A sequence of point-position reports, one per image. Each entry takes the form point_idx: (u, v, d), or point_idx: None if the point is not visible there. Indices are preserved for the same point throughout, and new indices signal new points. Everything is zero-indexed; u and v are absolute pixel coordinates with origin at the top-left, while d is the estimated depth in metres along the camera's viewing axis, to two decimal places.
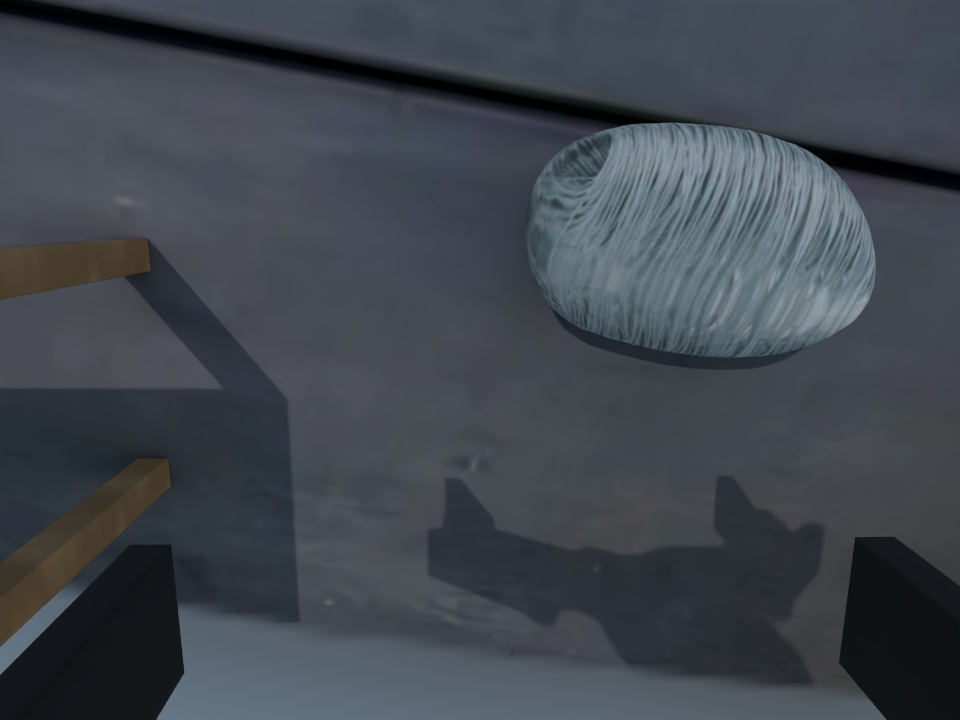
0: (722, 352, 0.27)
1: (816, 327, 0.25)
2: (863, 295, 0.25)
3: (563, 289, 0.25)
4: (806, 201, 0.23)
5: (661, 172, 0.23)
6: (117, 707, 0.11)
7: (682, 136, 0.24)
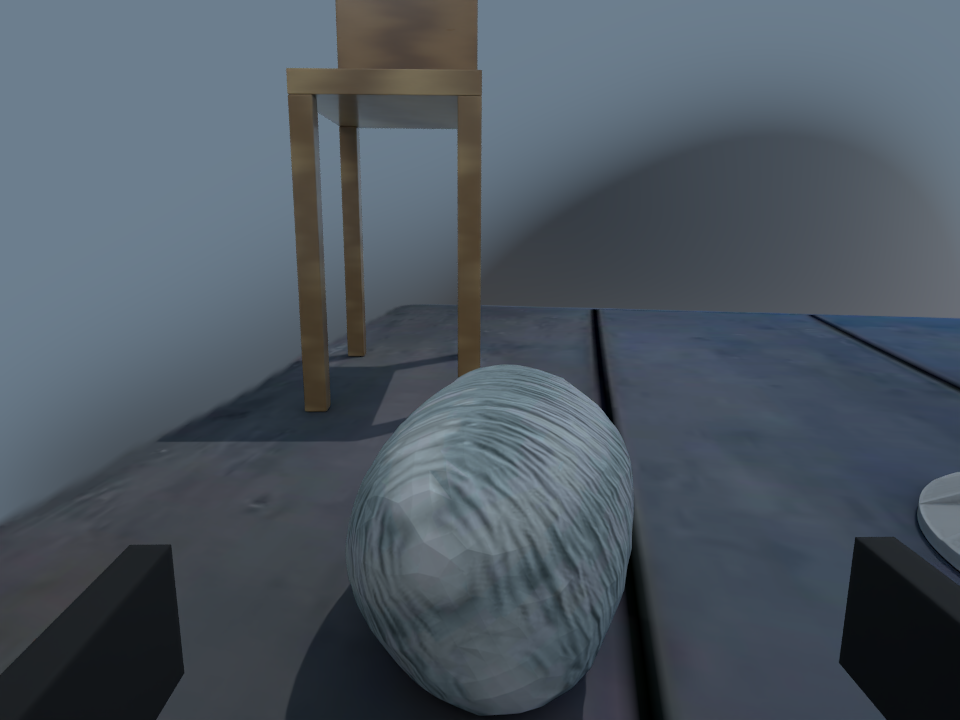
0: None
1: (397, 461, 0.18)
2: (439, 486, 0.17)
3: None
4: (558, 423, 0.20)
5: (565, 382, 0.25)
6: (117, 707, 0.11)
7: (604, 414, 0.24)
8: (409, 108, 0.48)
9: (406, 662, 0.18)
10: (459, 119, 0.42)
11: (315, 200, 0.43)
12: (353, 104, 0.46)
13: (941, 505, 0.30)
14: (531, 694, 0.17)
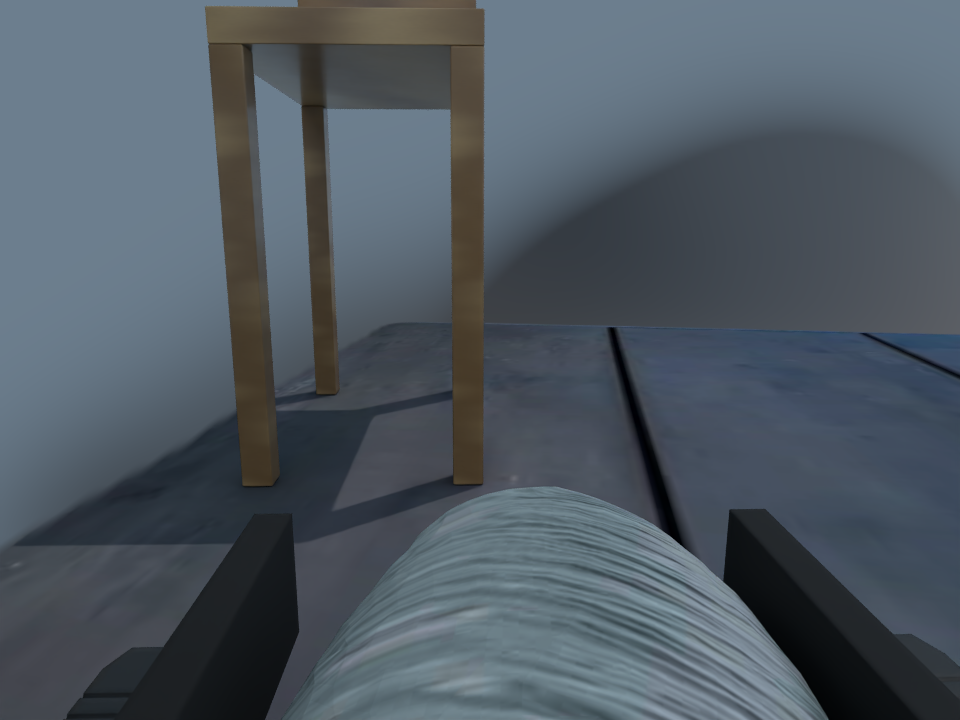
0: None
1: None
2: None
3: None
4: None
5: (668, 546, 0.12)
6: (264, 653, 0.12)
7: (757, 620, 0.11)
8: (385, 72, 0.35)
9: None
10: (453, 79, 0.30)
11: (250, 195, 0.31)
12: (307, 64, 0.34)
13: None
14: None
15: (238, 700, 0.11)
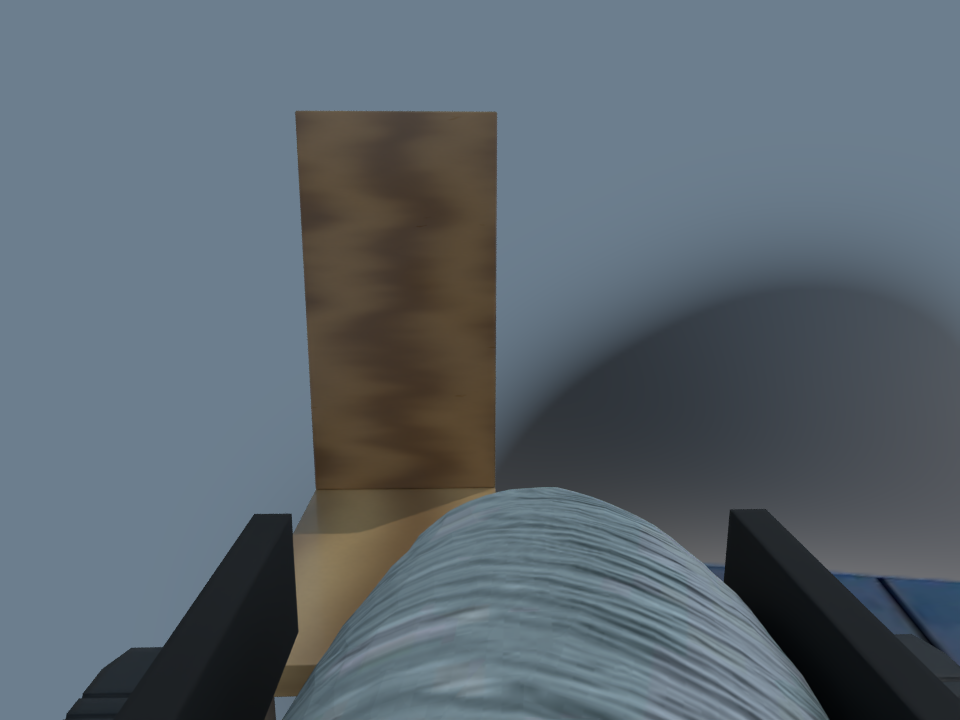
0: None
1: None
2: None
3: None
4: None
5: (668, 547, 0.12)
6: (263, 653, 0.12)
7: (758, 621, 0.11)
8: None
9: None
10: None
11: None
12: None
13: None
14: None
15: (238, 699, 0.11)
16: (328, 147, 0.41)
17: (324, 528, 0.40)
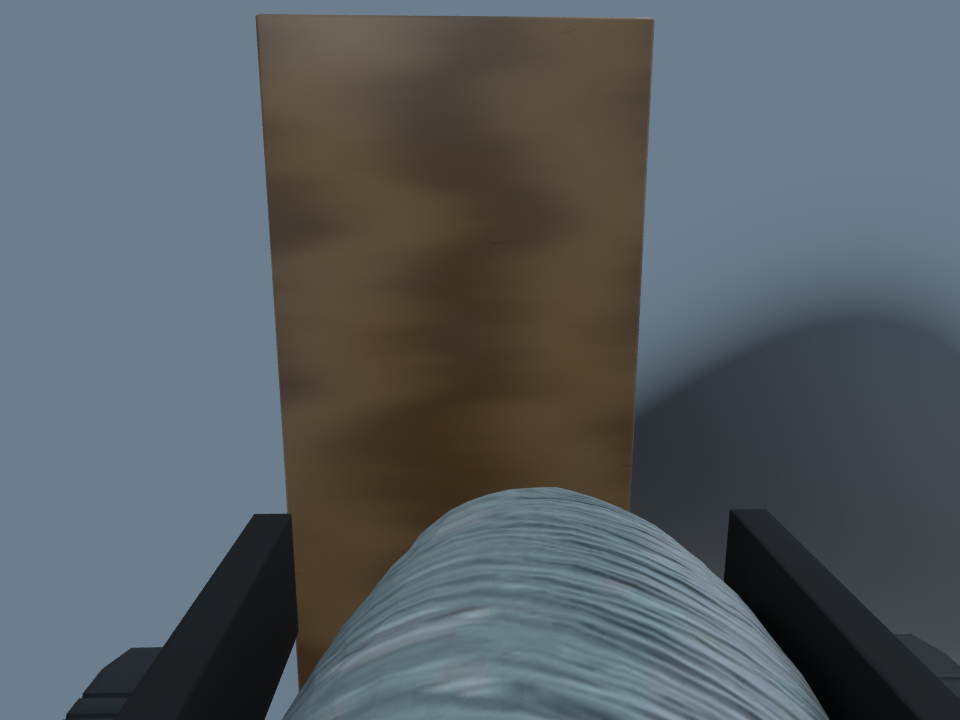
0: None
1: None
2: None
3: None
4: None
5: (669, 547, 0.12)
6: (263, 653, 0.12)
7: (758, 621, 0.11)
8: None
9: None
10: None
11: None
12: None
13: None
14: None
15: (239, 700, 0.11)
16: (321, 88, 0.21)
17: None
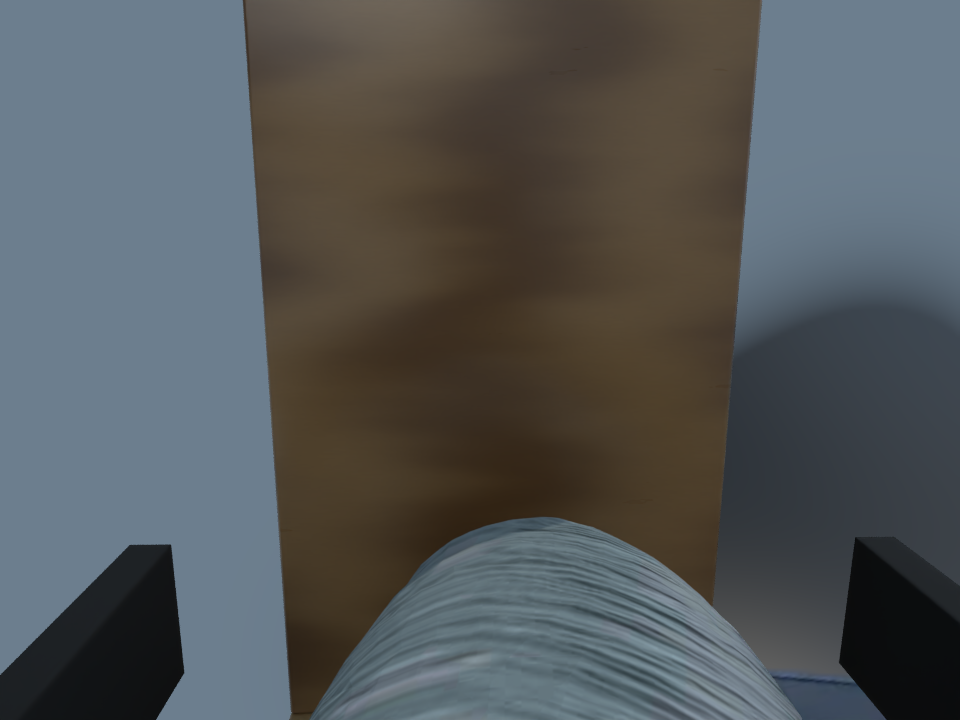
0: None
1: None
2: None
3: None
4: None
5: (668, 582, 0.12)
6: (117, 707, 0.11)
7: (756, 658, 0.11)
8: None
9: None
10: None
11: None
12: None
13: None
14: None
15: None
16: None
17: None
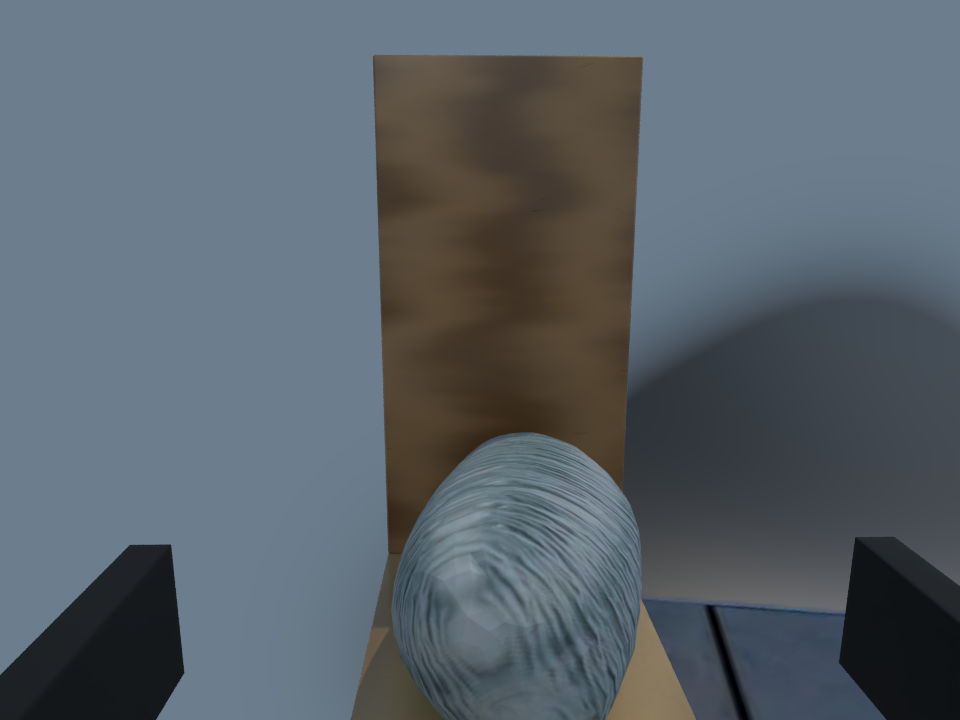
0: (408, 540, 0.24)
1: (439, 540, 0.21)
2: (478, 566, 0.20)
3: None
4: (576, 503, 0.23)
5: (579, 453, 0.28)
6: (117, 707, 0.11)
7: (614, 482, 0.27)
8: None
9: (449, 714, 0.21)
10: None
11: None
12: None
13: None
14: None
15: None
16: (416, 104, 0.30)
17: None
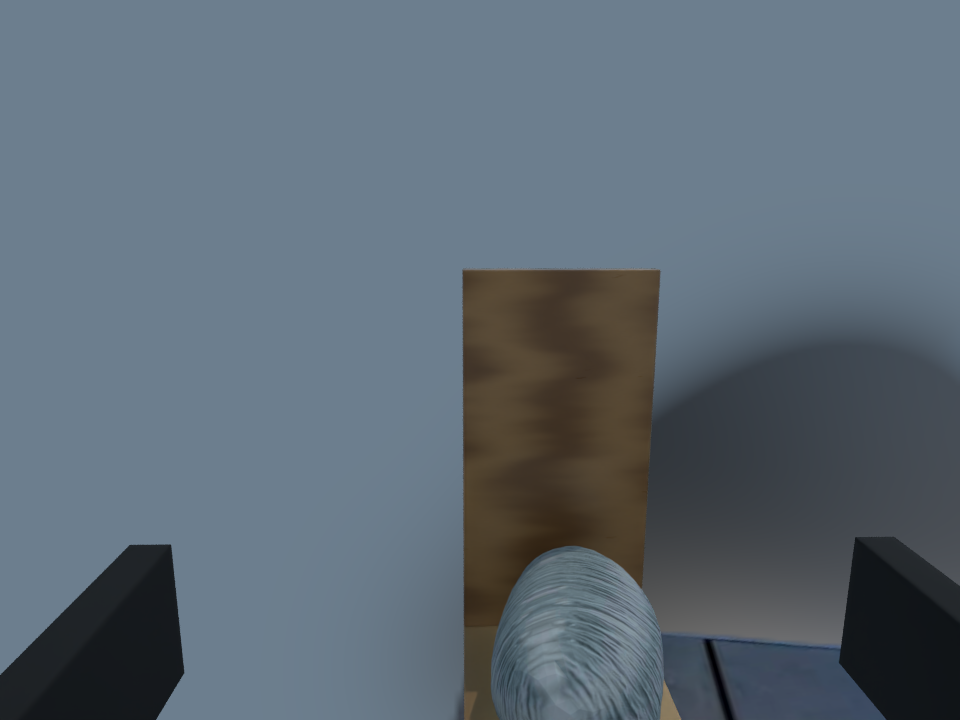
0: (501, 639, 0.35)
1: (531, 648, 0.32)
2: (561, 671, 0.31)
3: None
4: (620, 619, 0.33)
5: (615, 568, 0.39)
6: (117, 707, 0.11)
7: (641, 591, 0.38)
8: None
9: None
10: None
11: None
12: None
13: None
14: None
15: None
16: (493, 304, 0.41)
17: None
